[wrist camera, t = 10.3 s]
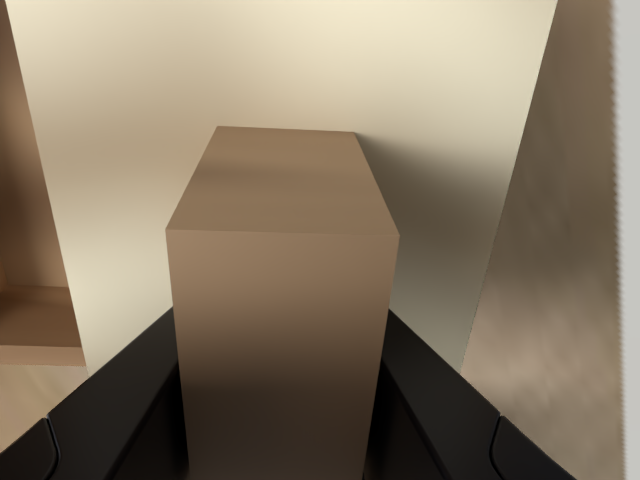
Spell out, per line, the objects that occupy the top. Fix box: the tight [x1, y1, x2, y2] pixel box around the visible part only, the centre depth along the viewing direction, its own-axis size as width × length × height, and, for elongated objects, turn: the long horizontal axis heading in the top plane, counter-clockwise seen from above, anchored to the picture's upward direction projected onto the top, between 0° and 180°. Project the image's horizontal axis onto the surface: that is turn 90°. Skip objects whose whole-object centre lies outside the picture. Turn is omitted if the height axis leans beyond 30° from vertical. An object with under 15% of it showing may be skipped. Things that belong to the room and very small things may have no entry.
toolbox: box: [0, 0, 86, 366], centre depth 15 cm, size 22×9×7 cm, turn 174°
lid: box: [5, 0, 558, 480], centre depth 8 cm, size 17×9×6 cm, turn 176°
